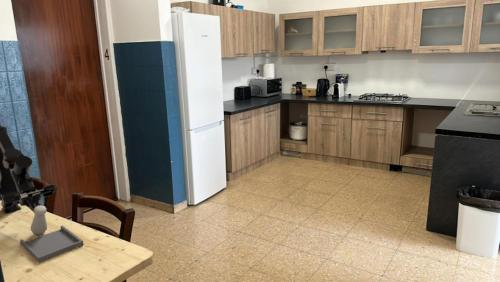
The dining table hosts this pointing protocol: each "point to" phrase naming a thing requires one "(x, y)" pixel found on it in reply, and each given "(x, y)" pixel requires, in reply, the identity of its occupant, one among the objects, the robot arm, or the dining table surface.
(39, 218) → the salt shaker
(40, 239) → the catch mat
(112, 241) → the dining table surface
